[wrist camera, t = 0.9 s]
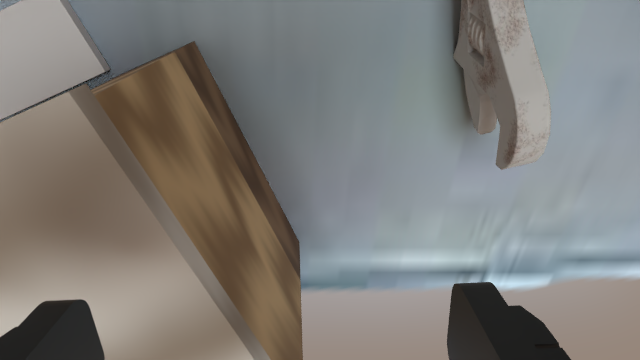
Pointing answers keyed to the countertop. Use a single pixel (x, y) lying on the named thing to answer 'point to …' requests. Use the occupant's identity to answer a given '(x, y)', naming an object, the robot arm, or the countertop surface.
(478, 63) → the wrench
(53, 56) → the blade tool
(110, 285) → the cabinet
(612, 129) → the countertop surface
